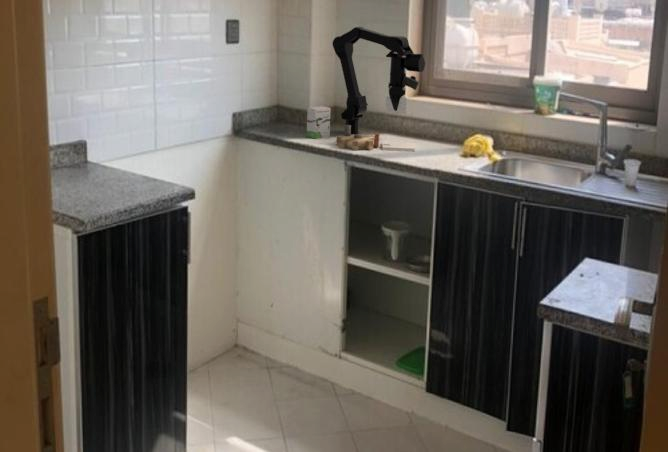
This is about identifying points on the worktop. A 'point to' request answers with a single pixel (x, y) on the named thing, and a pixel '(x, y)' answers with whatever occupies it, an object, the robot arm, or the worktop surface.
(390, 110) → the marked link
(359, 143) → the sprocket
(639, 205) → the worktop surface
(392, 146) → the pad
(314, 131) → the ink box
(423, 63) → the robot arm
